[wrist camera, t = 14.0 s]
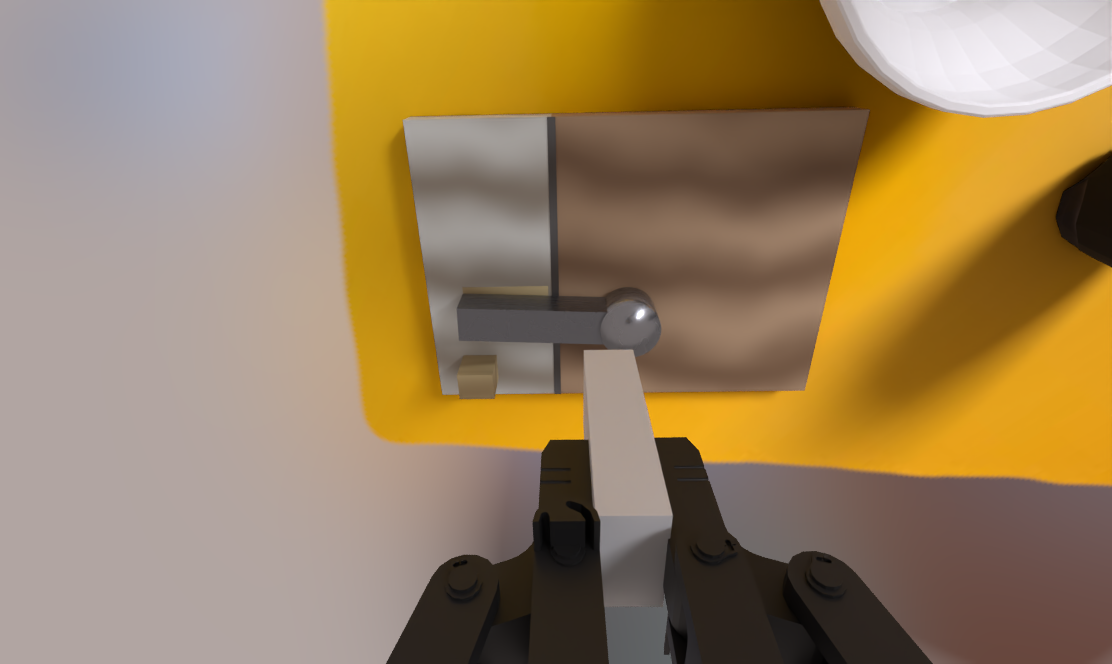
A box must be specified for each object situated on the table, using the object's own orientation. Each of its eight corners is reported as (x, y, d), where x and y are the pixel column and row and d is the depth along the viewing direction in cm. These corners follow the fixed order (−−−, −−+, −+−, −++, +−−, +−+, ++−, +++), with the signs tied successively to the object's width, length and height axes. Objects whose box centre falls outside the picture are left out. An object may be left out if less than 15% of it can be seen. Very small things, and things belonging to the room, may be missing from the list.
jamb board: (411, 116, 34) (389, 125, 30) (853, 106, 33) (896, 114, 29) (447, 380, 43) (434, 416, 39) (794, 376, 43) (820, 411, 38)
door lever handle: (657, 287, 37) (664, 304, 34) (651, 338, 38) (657, 358, 36) (462, 282, 37) (455, 299, 34) (465, 334, 38) (458, 353, 36)
